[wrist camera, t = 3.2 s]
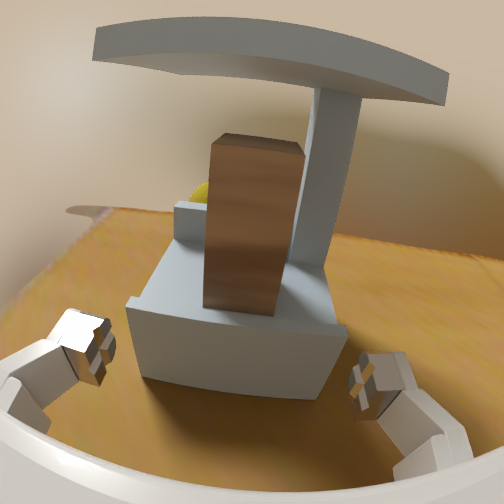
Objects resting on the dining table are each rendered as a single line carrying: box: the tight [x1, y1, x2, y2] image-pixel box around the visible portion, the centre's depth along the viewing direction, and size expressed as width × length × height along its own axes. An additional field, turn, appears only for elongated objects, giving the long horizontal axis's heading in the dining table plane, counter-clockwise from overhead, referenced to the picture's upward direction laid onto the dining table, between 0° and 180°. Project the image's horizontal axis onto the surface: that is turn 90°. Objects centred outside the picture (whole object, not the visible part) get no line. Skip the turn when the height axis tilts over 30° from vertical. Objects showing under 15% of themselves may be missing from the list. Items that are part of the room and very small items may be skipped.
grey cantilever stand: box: [92, 17, 449, 400], centre depth 19 cm, size 13×14×22 cm
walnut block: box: [203, 133, 306, 317], centre depth 18 cm, size 4×4×10 cm
